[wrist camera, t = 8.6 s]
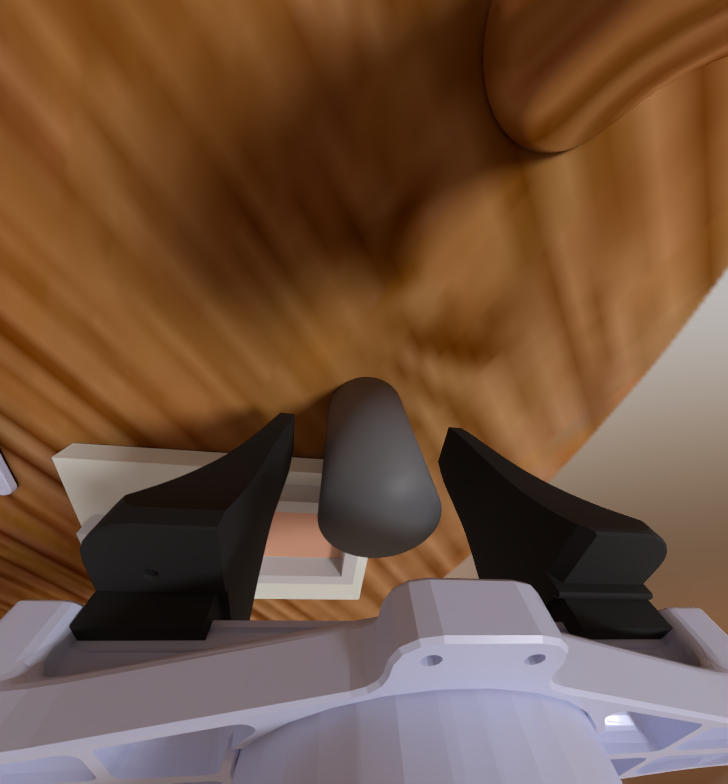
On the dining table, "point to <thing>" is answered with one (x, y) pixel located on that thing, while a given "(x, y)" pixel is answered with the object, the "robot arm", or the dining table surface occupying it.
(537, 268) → the dining table surface
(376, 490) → the peg
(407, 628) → the robot arm
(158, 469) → the board
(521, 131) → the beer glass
